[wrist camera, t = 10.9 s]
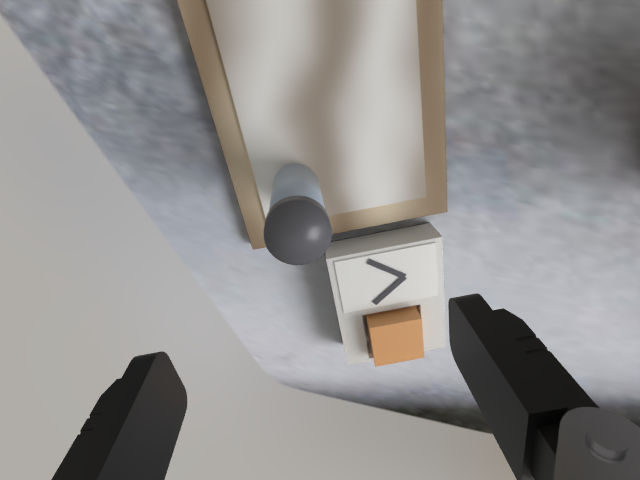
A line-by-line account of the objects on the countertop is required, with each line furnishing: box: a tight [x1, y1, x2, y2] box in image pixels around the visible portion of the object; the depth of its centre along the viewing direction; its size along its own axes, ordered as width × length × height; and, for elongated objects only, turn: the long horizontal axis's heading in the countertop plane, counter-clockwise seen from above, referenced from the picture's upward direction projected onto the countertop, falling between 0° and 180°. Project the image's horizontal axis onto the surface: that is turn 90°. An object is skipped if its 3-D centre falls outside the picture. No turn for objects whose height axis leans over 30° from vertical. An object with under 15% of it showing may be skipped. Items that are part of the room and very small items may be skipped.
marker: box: [263, 164, 332, 265], centre depth 20 cm, size 3×3×8 cm
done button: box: [366, 305, 424, 367], centre depth 27 cm, size 4×4×2 cm
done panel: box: [325, 223, 446, 365], centre depth 28 cm, size 8×10×3 cm
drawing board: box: [177, 0, 447, 250], centre depth 21 cm, size 14×19×1 cm
